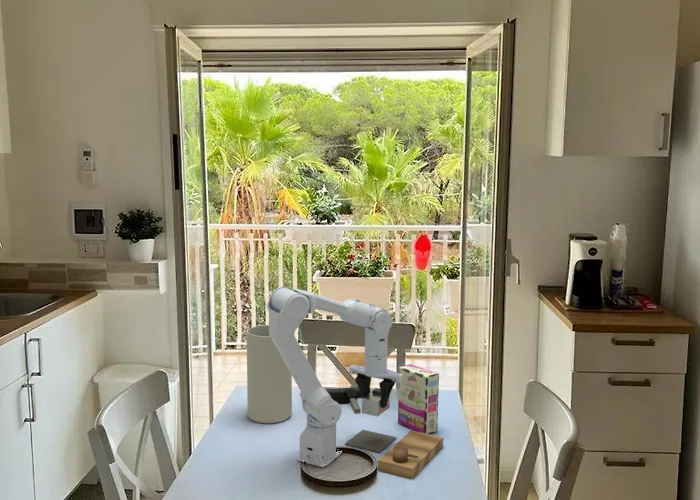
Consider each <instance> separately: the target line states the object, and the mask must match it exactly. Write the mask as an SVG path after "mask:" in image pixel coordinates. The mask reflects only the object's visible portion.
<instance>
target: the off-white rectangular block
mask: <svg viewBox="0 0 700 500" xmlns="http://www.w3.org/2000/svg"><path fill="white" fill-rule="evenodd" d="M390 395H391V394H390ZM390 395H389V399H388V403H387V406H386V407H385V408H381V391H380V388H377V387H376V388H374V389H371V393H369V394H368V395H366V396H365V397H363V398H362V397H361V414H364V415H367V416H373V417H379V416H380V415H382V414H383V413H384V412H386V411H387V410H389V409H390V405H391V404H390V400H391V396H390Z"/></svg>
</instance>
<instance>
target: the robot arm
mask: <svg viewBox="0 0 700 500" xmlns="http://www.w3.org/2000/svg"><path fill="white" fill-rule="evenodd" d="M266 307H267V311H268V325H269V335H270V337H271V339H272V341H273V343H274V344H275V346H276V348H277V350H278V352H279V353H280V355H281V357H282V359H283V360H284V362H285V364H286V366H287V368H288V369H289V371H290V373H291V375H292V379H293V380H294V382H295V383H296V385H297V387H298V389H299V390H300V393H299V396H300V398H301V401H302V409H303V411H304V413H306V426H305V428H304V430H303V431H302V432H301V433H300V436H299V456H298V457H296V461H298V462H301V461H302V460H304V461H305V462H306V463H305V464H308V465H313V466H317V467H320V468H325V466H326V467H327V466H328V465H330V464H331V463H332V462H333V461H335V458H336V459H337V458H338V457H339V456H341V455H342V454H343V453H342V451H343V450H341V451H337V452H336V449H337V425H338V424H337V423H338V421H339V420H340V419H341V416H342V408H341V404H339V403H337V402H336V401H334V400H333V399H332V398H331V396H330V395H329V393H328V392H327V391H326V390H325V389H326V388H324V386H323V385H322V384H321V382H320V380H319V378H318V377H317V374H316V373H315V371H314V368H313V367H312V365H311V364H310V362H309V360H308V357H307V356H306V354H305V351H303V349H302V347H301V345H300V343H299V342H298V340H297V338H296V336H295V332H296V330H297V329H298V328H299V326H300V325H301V323H302V322H303V320H304V319H305V318H306V316H307V315H308V314H311V315H312V314H313V313H314V312H315V311H316V310H319V311H322V312H327V313H330V314H331V313H332V314H335V315H339V318H340V319H341V320H342V322H345V323H348V324H352V325H355V326H359V327H363V328H364V365H356V364H352V365H350V366H349V368H348V374H349V375H356V377H355V378H354V382H355V384H356V385H357V387H359V389H360V392H361V395H362V397H361V399H362V398H363V397H365V396H366V395H368V394H369V393H370V389H371V381H372V379H373V378H374V379H380V380H382V381H380V382H378V383H379V384H378V385H379V389H380V391H381V408H385V407H386V406H387V403H388V399H389V395H391V393H392V391H393V388H394V386H395V384H399V383H401V382H402V381H403V374H401V373H399V372H397V371H394V370H391V369H388V342H389V341H388V339H389V338H388V336H389V334H390V333H389V331H390V329H391V328H392V325H393V322H394V320H393V319H392V316H391V314H390V312H389V311H388V310H386V309H384V308H380V307H378V306H376V305H375V304H374V303H369V304H368V303H365V302H361V299H359V298H356V297H353V298H352V299H351V298H347V299H346V300H344V301H340V300H336V299H334V298H330V297H327V296H325V295H321V294H318V293H315V292H312V291H309V290H303V289H298V288H289V287H286V286H279V287H277V288H275V289H274V290H273V291H272V292H271V294H270V297H269V299H268V301H267V303H266ZM339 452H340V453H339ZM341 453H342V454H341ZM340 454H341V455H340Z"/></svg>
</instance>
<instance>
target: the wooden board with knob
mask: <svg viewBox="0 0 700 500" xmlns="http://www.w3.org/2000/svg"><path fill="white" fill-rule="evenodd" d="M443 448H444V436H439V435H434V434H426V433H421V432H417V431H414V430H412V429H410V431H409V432H407V434H406V435H405V436H403V437H402V438H401V439H400V440H398V441H397V442H396V443H395V445H393V446H392V447H391V448H390V449H388V450H387V451H386V452H385V453H384V454H383V455H382V456H381V457H380V458H379V459H378V460H377V471H379V472H383V473H388V474H392V475H395V476H399V477H402V478H403V477H404V478H408V479H411V480H413V479H415V478H416V476H417V475H418V474H419V473H420V472H421V470H422V469H424V468H425V467H426V465H428V463H430V461H431V460H432V459H433V458H434V457H435V456H436V455H437V454H438V453H439V452H440V451H441V449H443Z"/></svg>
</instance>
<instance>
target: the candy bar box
mask: <svg viewBox="0 0 700 500" xmlns="http://www.w3.org/2000/svg"><path fill="white" fill-rule="evenodd" d="M398 373H401V374H403V381H402V382H401V383H398V398H397V399H398V404H397V410H398V411H397V424H399V425H401V426H403V427H406V428H408V429H410V430H412V431H417V432H421V433H426V434H431V435H433V434H435V433H437V432H438V423H439V422H438V420H439V418H438V416H439V415H438V414H439V389H440V388H439V387H440V386H439V384H440V383H439V382H440V373H438V372H435V371H432V370H430V369H425V368H424V367H420V366H418V365H414V364H407V365H403V366H399V367H398Z"/></svg>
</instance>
